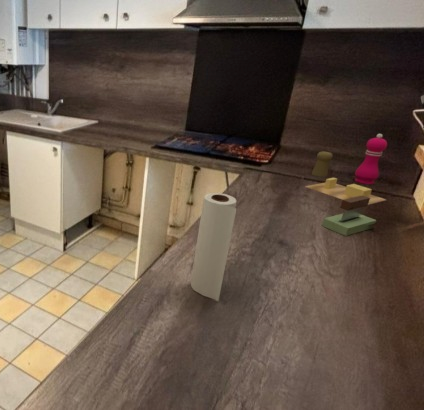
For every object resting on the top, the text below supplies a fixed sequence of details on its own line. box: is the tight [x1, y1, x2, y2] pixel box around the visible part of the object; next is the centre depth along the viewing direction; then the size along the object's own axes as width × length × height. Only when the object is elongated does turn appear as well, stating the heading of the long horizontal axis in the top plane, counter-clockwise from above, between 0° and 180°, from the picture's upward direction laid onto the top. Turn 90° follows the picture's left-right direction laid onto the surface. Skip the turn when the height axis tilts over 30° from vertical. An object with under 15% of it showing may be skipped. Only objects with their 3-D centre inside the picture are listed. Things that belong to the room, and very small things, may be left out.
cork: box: [310, 151, 333, 178], centre depth 144 cm, size 6×6×11 cm
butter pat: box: [324, 177, 338, 189], centre depth 131 cm, size 2×4×4 cm, turn 114°
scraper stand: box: [321, 213, 377, 237], centre depth 105 cm, size 7×13×2 cm, turn 114°
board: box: [305, 181, 387, 206], centre depth 128 cm, size 20×14×2 cm
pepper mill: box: [354, 133, 388, 185], centre depth 136 cm, size 7×7×20 cm
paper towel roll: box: [190, 192, 238, 302], centre depth 74 cm, size 7×6×21 cm
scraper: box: [340, 195, 370, 223], centre depth 104 cm, size 2×9×9 cm, turn 114°
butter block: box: [344, 183, 373, 198], centre depth 123 cm, size 6×4×4 cm, turn 24°
